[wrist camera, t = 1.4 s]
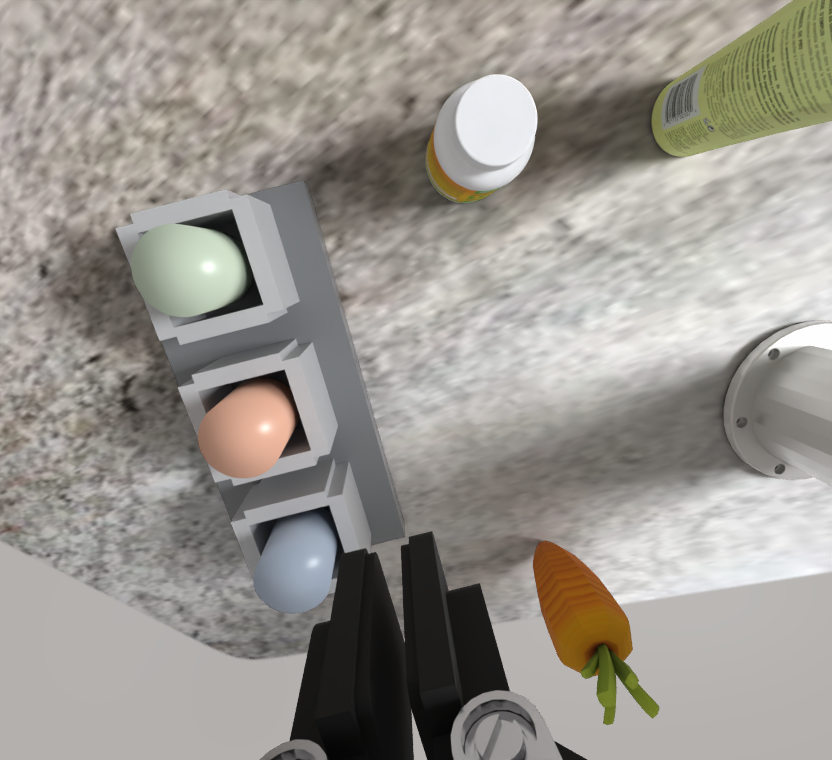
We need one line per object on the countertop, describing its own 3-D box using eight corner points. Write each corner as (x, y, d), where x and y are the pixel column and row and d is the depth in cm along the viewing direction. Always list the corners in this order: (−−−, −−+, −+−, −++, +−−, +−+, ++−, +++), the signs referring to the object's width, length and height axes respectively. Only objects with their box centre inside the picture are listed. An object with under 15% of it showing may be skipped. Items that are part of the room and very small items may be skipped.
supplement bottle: (460, 221, 33) (489, 206, 23) (407, 158, 32) (415, 116, 22) (520, 164, 32) (575, 126, 23) (469, 97, 31) (504, 27, 21)
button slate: (328, 496, 32) (317, 539, 27) (346, 552, 33) (339, 603, 28) (265, 512, 32) (242, 558, 27) (285, 567, 33) (267, 621, 28)
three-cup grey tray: (308, 184, 32) (286, 165, 25) (404, 522, 38) (407, 579, 31) (133, 229, 32) (64, 222, 25) (259, 558, 38) (231, 623, 32)
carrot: (582, 549, 40) (694, 716, 25) (532, 580, 40) (613, 762, 26) (552, 505, 39) (651, 655, 24) (501, 538, 39) (567, 704, 25)
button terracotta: (287, 369, 30) (267, 391, 25) (308, 434, 31) (293, 467, 26) (218, 387, 30) (185, 412, 25) (242, 450, 31) (214, 486, 26)
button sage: (238, 221, 27) (206, 213, 22) (263, 296, 28) (237, 304, 24) (164, 240, 27) (116, 236, 22) (192, 315, 28) (151, 326, 24)
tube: (742, 101, 32) (1259, -126, 13) (703, 176, 33) (1127, 66, 14) (671, 61, 31) (1113, -245, 12) (633, 139, 32) (984, -31, 13)
